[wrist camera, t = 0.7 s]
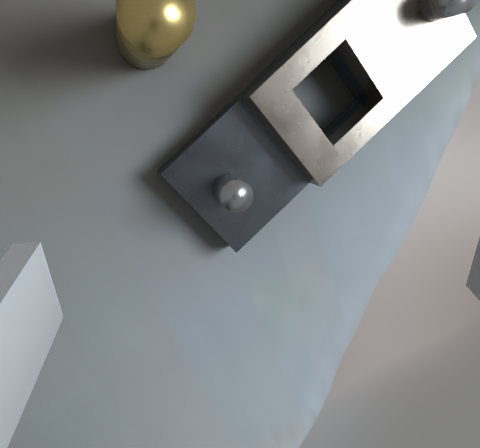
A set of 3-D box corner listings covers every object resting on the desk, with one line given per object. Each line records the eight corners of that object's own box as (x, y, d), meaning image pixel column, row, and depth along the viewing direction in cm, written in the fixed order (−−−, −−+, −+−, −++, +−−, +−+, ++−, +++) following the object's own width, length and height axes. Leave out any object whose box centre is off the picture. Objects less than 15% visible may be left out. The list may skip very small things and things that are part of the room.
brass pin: (144, 81, 31) (155, 68, 22) (104, 36, 30) (98, 2, 20) (183, 45, 31) (210, 17, 22) (145, -2, 30) (157, -53, 20)
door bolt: (230, 245, 36) (254, 274, 30) (157, 171, 33) (167, 185, 27) (440, 44, 37) (509, 29, 31) (390, -49, 34) (455, -87, 27)
